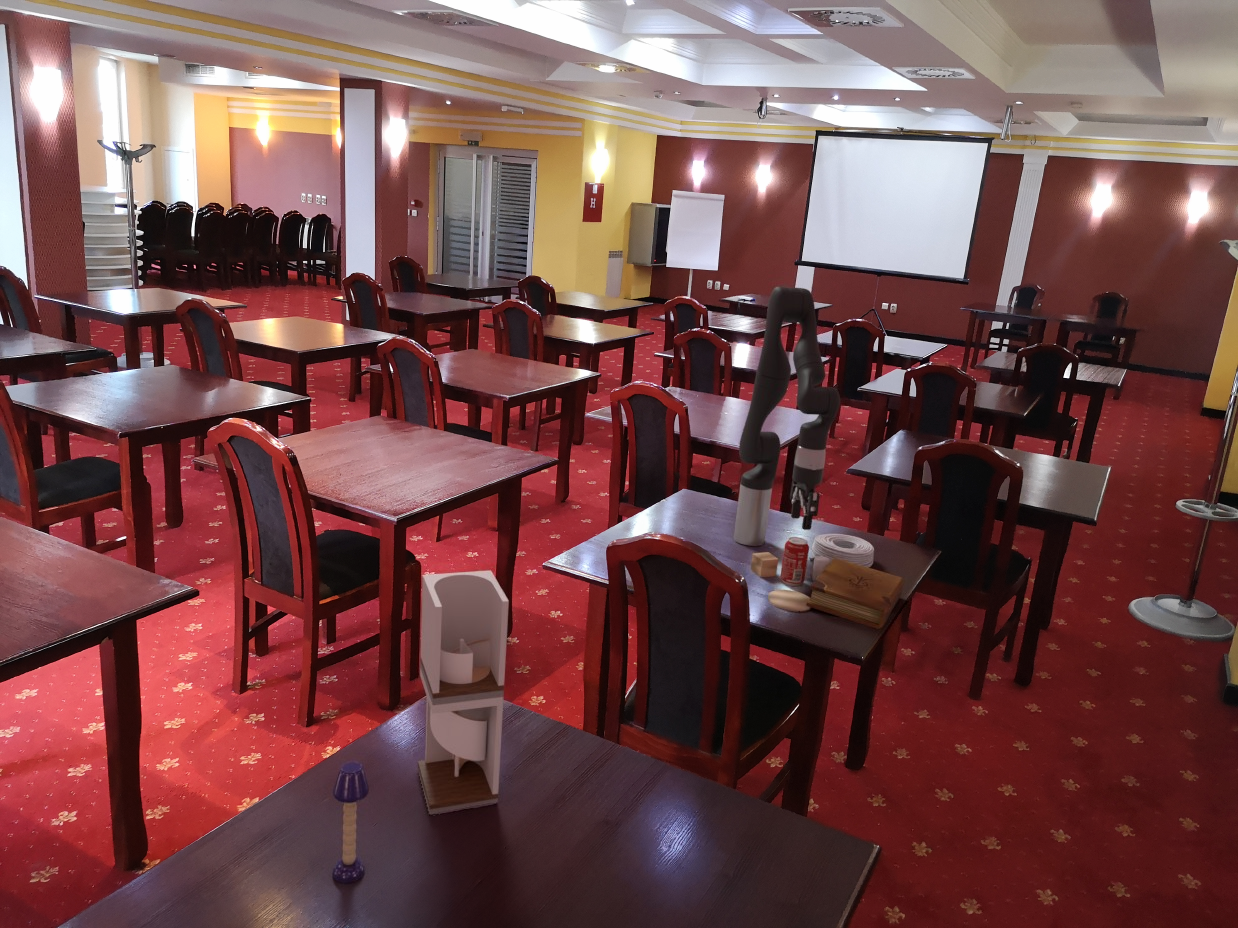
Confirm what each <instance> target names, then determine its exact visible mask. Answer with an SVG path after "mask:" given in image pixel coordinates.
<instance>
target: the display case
mask: <svg viewBox="0 0 1238 928" xmlns="http://www.w3.org/2000/svg"><path fill="white" fill-rule="evenodd" d="M421 588H422V591H421V593H422V594H421V595H422V596H421V626H420V627H421V633H420V664H419V665H420V666H419V670H420V671H419V676H420V679H421V682H422V683H421V684H422V686H423V689H424V691H425V695H426V716H425V717H426V718H425V720H426V721H425V747H424V748H425V749H424V750H425V753H424V759H423V760H422V759H421V760H417V773H418V772H419V775H418V777H419V776H420V779H419V781H420V780H421V783H420V785H421V784H422V786H421V789H422V788H423V790H422V792H423V791H424V794H423V796H424V795H425V798H424V800H425V799H426V802H425V804H426V803H427V805H426V808H427V807H428V809H427V812H428V811H429V813H428V815H429V814H434V813H438V812H443V811H448V810H454V809H460V808H465V807H470V806H476V805H482V804H487V803H496V802H499V787H500V786H499V785H500V783H499V782H500V767H501V765H500V764H501V750H502V749H501V747H502V733H503V731H502V730H503V729H502V728H503V712H504V711H503V710H504V696H505V695H504V694H505V693H504V692H505V675H506V673H505V672H506V657H507V656H506V654H507V641H508V639H507V637H508V620H509V603H510V601H509V599H508V597H507V596H506V594H505V592H504V590H503V589H502V587H501V586H500V584H499V581H498V580H497V578H496V577H495V575H494V573H493V572H492V570H476V571H465V572H463V571H462V572H460V571H459V572H449V573H434V574H422V587H421Z"/></svg>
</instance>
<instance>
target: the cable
mask: <svg viewBox="0 0 1238 928" xmlns="http://www.w3.org/2000/svg"><path fill="white" fill-rule="evenodd" d="M811 554H812V556H808V559H809V561H812V564H813V565H814V557H816V556H823V557H827V558H829V559H830V561H829V564H830V563H831V561H832V560H833V559H834V558H837V559H841V560H844V561H848V562H851V563H854V564H858V565H861V566H864V567H868V568H871V567H872V565H873V564H874V556H875V548H874V546H873V545H872V544H871V543H870V542H869V541H867V540H865V539H863V538H861V537H858V536H854V535H848V534H842V533H825V534H824V533H823V534H819V535H816V536H815V537H814V540H813V543H812V545H811Z"/></svg>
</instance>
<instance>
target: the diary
mask: <svg viewBox="0 0 1238 928" xmlns="http://www.w3.org/2000/svg"><path fill="white" fill-rule="evenodd" d="M904 584H905V579H904V578H903V577H901V576H899V575H895V574H891V573H887V572H885V571H881V570H877V569H874V568H871V567H869V568H868V567H864V566H861V565H858V564H854V563H851V562H848V561H844V560H841V559H837V558H834V559H833V560H832V561H831V563H830V564H829V565H828V566H827V567H826V568H825V569H824V571H823V572H822V573H821V574H820V575H819V576H818V577H817V579H816V580H815V581H813V582H812V583H811V584H810V586H809V589H810V590H812V591H811V596H810V597H809V598H810V599H809V601H808V602H807V605H806V606H809V607H811V609H815V610H819V611H821V612H825V613H827V614H831V615H833V616H836V617H839V618H843V619H846V620H848V621H852V622H856V623H858V624H861V625H865V626H868V627H871V628H874V629H877V630H880V629H882V627H884V624H885V623H886V622H887V619H888V618H889V616H890V615H891V613H892V612H893V609H894V607H896V604H897V603H898V601H899V599H900V598H901V596H902V593H903V589H904Z"/></svg>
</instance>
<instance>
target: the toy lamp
mask: <svg viewBox="0 0 1238 928" xmlns="http://www.w3.org/2000/svg"><path fill="white" fill-rule="evenodd" d="M332 789H333V790H332V795H333V797H334V799H335V800H337V801H338V802H341V803H343V807H342V809H343V811H342V812H343V816H342V821H343V825H342V832H343V835H342V842H343V844H342V858H340V859H339V860H338V861H337V862H336V864H335V865H334V867H333V870H332V877H333V879H334V880H336V881H337V882H339V883H342V884H343V883H344V884H348V883H353V882H355V881H358V880H360V879H361V878H362V877H363V876H364V874H365V865H364V863H363V861H362V859H360V858H359V857H357V854H356V849H357V843H356V840H357V832H356V831H357V823H356V821H357V819H358V818H357V817H358V816H357V813H356V812H357V809H358V806H357V802H360V801H362V800H364V799H365V798H366V797H367V796H368V794H369V792H370V791H369V790H370V787H369V782H368V779H367V776H366V772H365V769H364V766H363V765H362V763H360V762H357V761H348V762H345V763H343V764H342V765H341V766H340V767H339V771H338V773H337V777H336V780H335V782H334V786H333V788H332Z"/></svg>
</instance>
